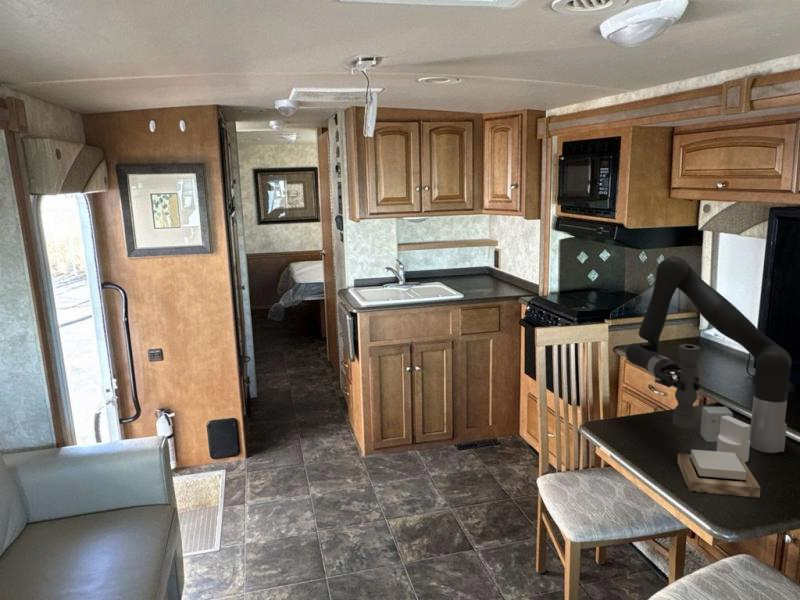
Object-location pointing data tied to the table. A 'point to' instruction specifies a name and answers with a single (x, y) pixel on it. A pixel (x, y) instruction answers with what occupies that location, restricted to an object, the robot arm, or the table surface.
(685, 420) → the candle holder
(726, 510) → the table surface
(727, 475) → the platform
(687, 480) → the stand
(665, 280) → the robot arm
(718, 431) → the small box
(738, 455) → the cylinder with rectangular tab
